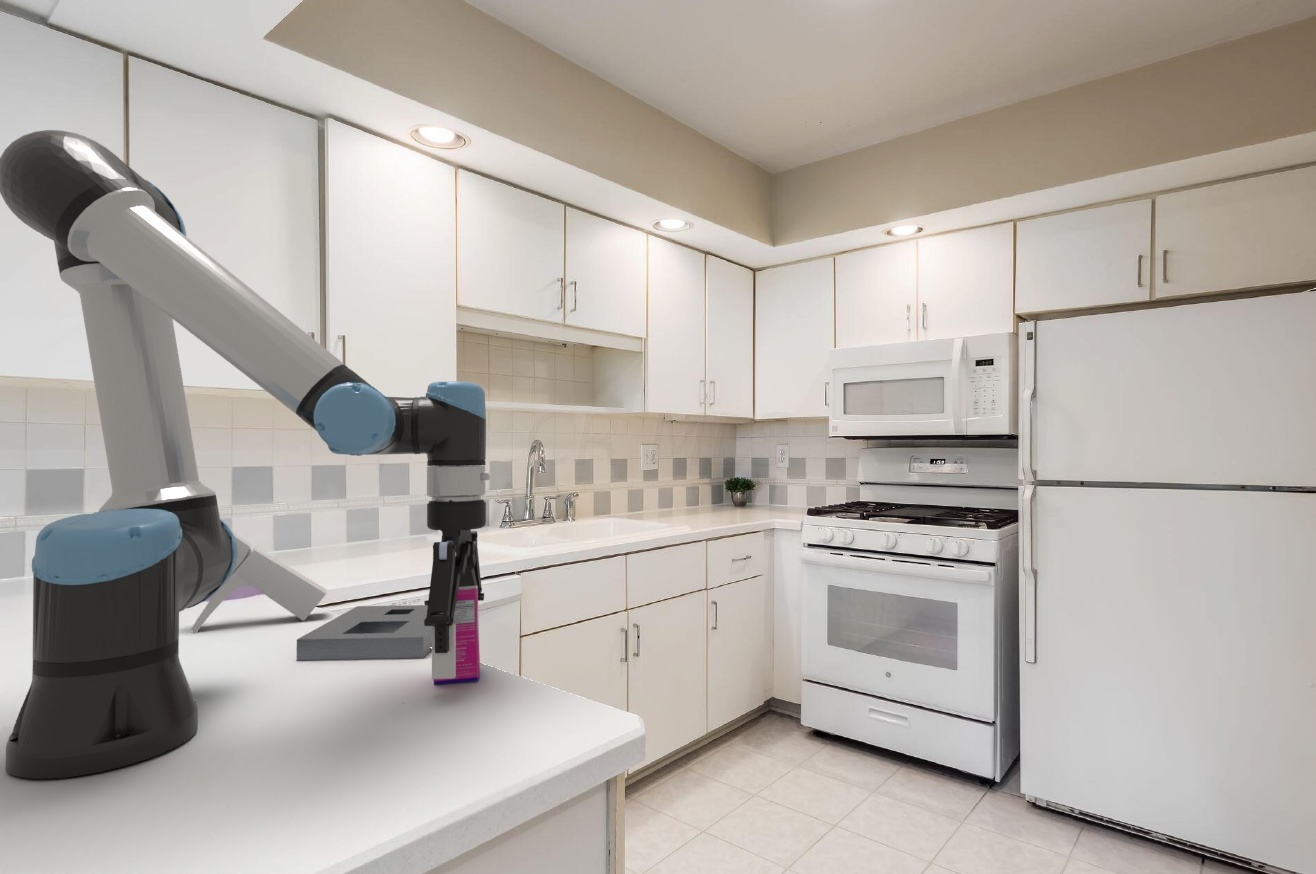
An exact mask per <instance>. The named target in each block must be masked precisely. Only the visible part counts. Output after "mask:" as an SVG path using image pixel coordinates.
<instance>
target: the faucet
mask: <svg viewBox="0 0 1316 874" xmlns="http://www.w3.org/2000/svg"><path fill="white" fill-rule="evenodd" d="M231 531H232V532H233V534H234V537H235V539H236V543H237V560H236V564H235V567H234V570H233V572H232V574H231V575H230V577H229V578H228V580H227V581H226V582H225V583H224V585H223V586H222V587H221V588H219V589H218V591H217V592H216V593H215V595H214V596H213V597H212V599H211V600H210V601H208V602H207V604H206V605H205V607H204V609H203V610H202V612H201V613H200V614H199V615H198V617H197V619H196V620H195V622H194V624H193V625H192V629H191V630H192V632H194V633H195V634H196V633H198V631H199V630H200V629H201V627H202V626H203V624H204V623H205V622H206V621H207V619H208V618H209V617H210V616H211V615H212V613H213V612H214V611H215V610H216V609H217V608H218V607H219V606H220V605H221V604H222V602H224V601H223V600H224V599H225V598H226V597H227V596H229V595H230V594H231V593H232V592H233V591H234V590H235V589H237V588H240V587H244V586H249V587H254V588H256V589H257V590H259V591H260V592H262V593H263V594H262V595H264V596H266V597H268V598H269V599H270V600H271V601H273V602H275V603H276V604H277V605H279V606H280V607H282V608H283V609H285V610H287V611H288V612H290V613H291V614H292V615H294V616H295V617H297V618H298V619H299V620H301V621H303V622H304V621H305V620H306V619H307V617H308V616H310V614H311V613H312V612H313V611H314V609H315V608H316V607H317V606H318V605H319V604H320V602H321V601H322V600H323V599H324V597H325V596H326V595H327V592H328V589H327V588H325V587H324V586H322V585H320V584H319V583H317V582H315V581H313V580H312V579H310V578H309V577H307V576H306V575H304V574H302V573H301V572H299V571H297V570H295V569H293V568H292V567H291V566H289V565H287V564H286V563H283V562H282V561H280V560H278V559H277V558H276V557H274V556H272V555H270V554H269V553H267V552H266V551H264V550H262V549H260V548H258V547H257V546H254V548H253V549H252V548H251V546H252V542H250V541H248V540H247V539H246V538H244V536H241V535H240V534H239V533H238V532H235V531H234V530H233V529H231Z"/></svg>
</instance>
